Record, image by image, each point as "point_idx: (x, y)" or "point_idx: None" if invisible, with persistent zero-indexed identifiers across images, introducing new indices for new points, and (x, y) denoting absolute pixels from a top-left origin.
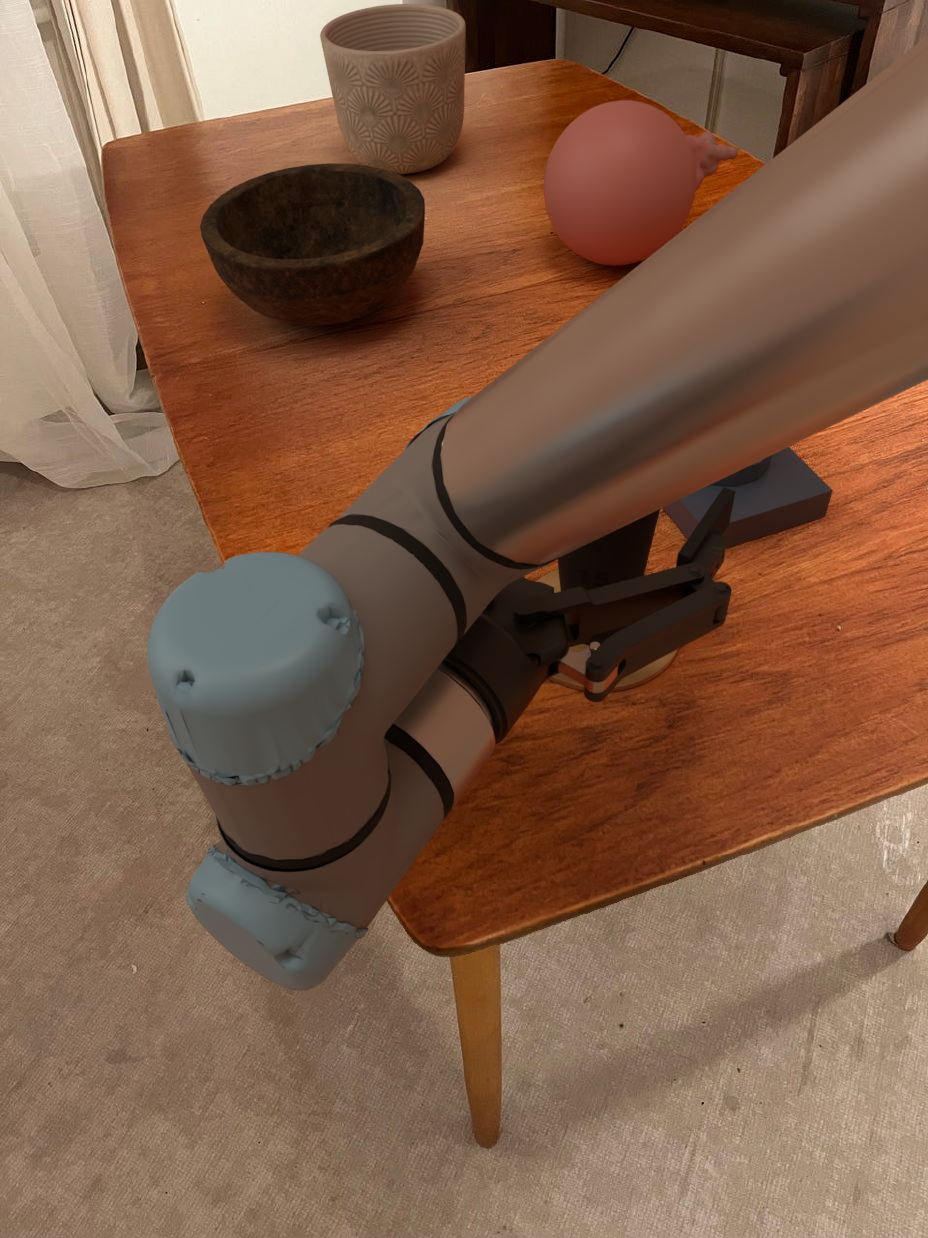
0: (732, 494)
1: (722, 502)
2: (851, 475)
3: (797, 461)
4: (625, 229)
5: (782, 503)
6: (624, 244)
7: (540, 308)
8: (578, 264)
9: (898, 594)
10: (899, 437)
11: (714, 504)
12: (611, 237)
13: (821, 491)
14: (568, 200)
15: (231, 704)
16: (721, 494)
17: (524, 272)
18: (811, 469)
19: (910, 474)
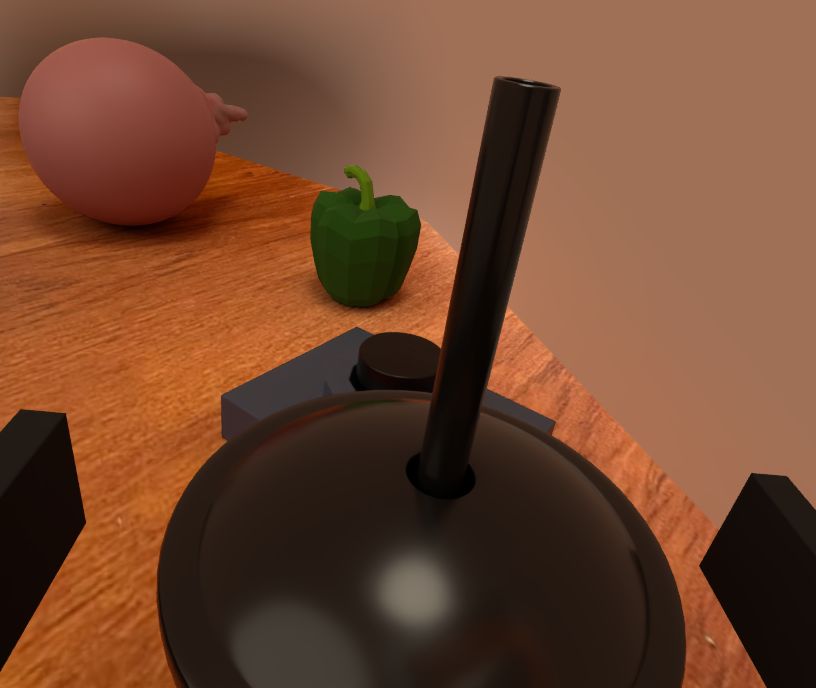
0: (795, 489)
1: (814, 526)
2: (525, 399)
3: (487, 393)
4: (145, 171)
5: None
6: (146, 191)
7: (42, 272)
8: (87, 229)
9: (709, 545)
10: (530, 350)
11: (811, 542)
12: (128, 182)
13: (545, 426)
14: (59, 136)
15: None
16: (780, 499)
17: (11, 239)
18: (511, 400)
19: (574, 385)
